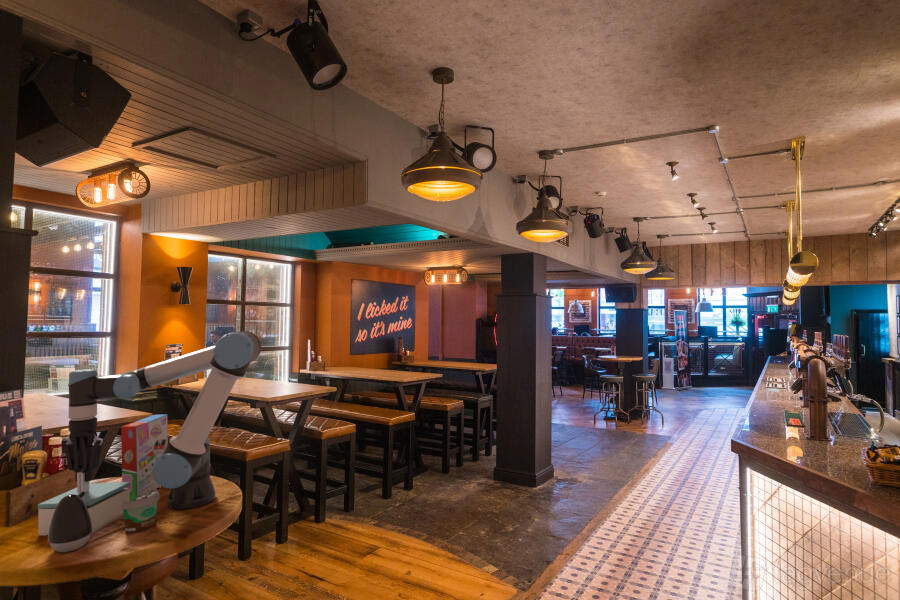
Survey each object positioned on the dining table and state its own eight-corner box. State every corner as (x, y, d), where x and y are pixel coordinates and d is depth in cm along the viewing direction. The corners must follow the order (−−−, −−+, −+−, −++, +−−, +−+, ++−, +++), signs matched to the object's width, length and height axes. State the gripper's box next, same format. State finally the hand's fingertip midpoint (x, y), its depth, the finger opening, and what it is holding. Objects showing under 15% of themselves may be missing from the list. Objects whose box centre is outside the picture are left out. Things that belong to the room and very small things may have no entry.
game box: (155, 483, 203) (154, 414, 203) (169, 483, 203) (168, 414, 203) (121, 503, 182) (120, 426, 182) (136, 502, 182) (136, 425, 182)
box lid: (130, 485, 173) (130, 481, 173) (89, 505, 155) (89, 501, 155) (84, 487, 174) (84, 484, 174) (37, 508, 156) (37, 504, 156)
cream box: (129, 512, 173) (129, 488, 173) (88, 535, 155) (88, 509, 155) (84, 512, 174) (84, 488, 174) (38, 535, 156) (38, 508, 156)
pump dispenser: (101, 539, 152) (100, 488, 152) (74, 556, 141) (73, 501, 142) (67, 539, 152) (67, 488, 153) (38, 556, 142) (38, 501, 142)
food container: (138, 537, 153) (138, 503, 153) (121, 535, 154) (121, 502, 155) (169, 520, 165) (169, 489, 166) (152, 519, 167) (152, 488, 167)
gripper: (111, 415, 168) (111, 487, 168) (72, 415, 169) (72, 487, 169) (94, 420, 161) (94, 496, 160) (53, 420, 162) (53, 495, 161)
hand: (83, 491), depth 164 cm, fingers closed
